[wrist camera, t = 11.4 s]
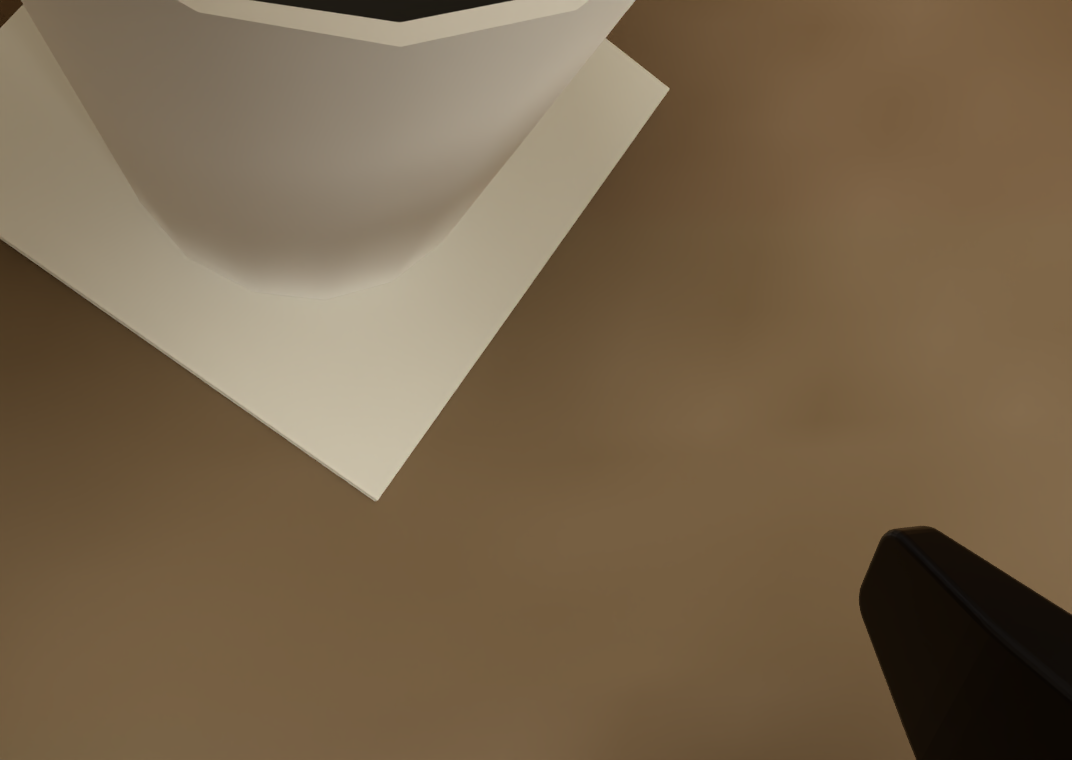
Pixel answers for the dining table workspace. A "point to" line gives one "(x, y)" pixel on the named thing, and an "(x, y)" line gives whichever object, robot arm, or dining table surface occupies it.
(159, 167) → the white cup
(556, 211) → the mat
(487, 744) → the dining table surface
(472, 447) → the dining table surface
